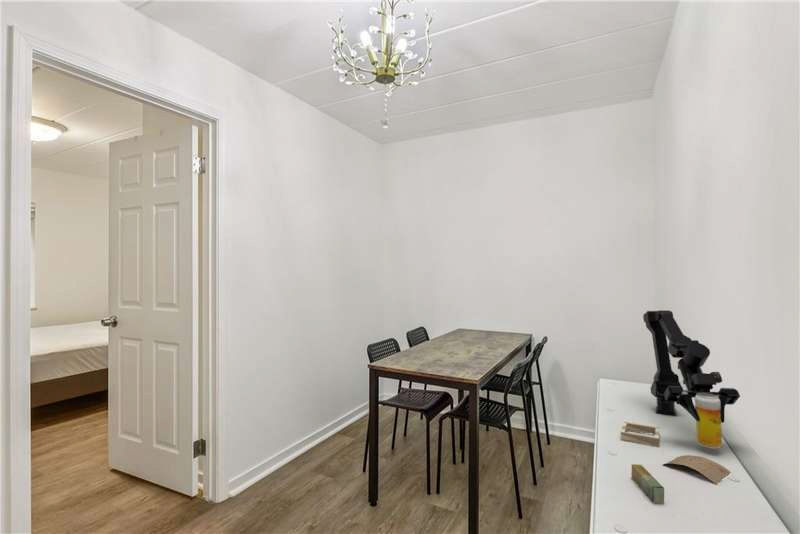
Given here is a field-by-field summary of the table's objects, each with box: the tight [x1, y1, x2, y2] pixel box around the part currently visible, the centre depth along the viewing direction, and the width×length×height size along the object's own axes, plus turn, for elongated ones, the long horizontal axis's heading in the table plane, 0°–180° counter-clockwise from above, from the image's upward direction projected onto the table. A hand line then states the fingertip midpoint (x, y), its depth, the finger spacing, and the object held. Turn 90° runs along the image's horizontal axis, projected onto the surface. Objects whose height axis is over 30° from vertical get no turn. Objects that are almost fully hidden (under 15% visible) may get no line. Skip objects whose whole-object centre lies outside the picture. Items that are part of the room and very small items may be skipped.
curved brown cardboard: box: [665, 454, 732, 485], centre depth 109 cm, size 14×10×3 cm
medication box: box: [631, 463, 665, 505], centre depth 100 cm, size 12×3×4 cm, turn 172°
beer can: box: [694, 393, 723, 450], centre depth 120 cm, size 6×6×15 cm
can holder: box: [620, 421, 660, 447], centre depth 130 cm, size 10×10×2 cm
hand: (710, 421), depth 118 cm, fingers closed on beer can, 6 cm apart
